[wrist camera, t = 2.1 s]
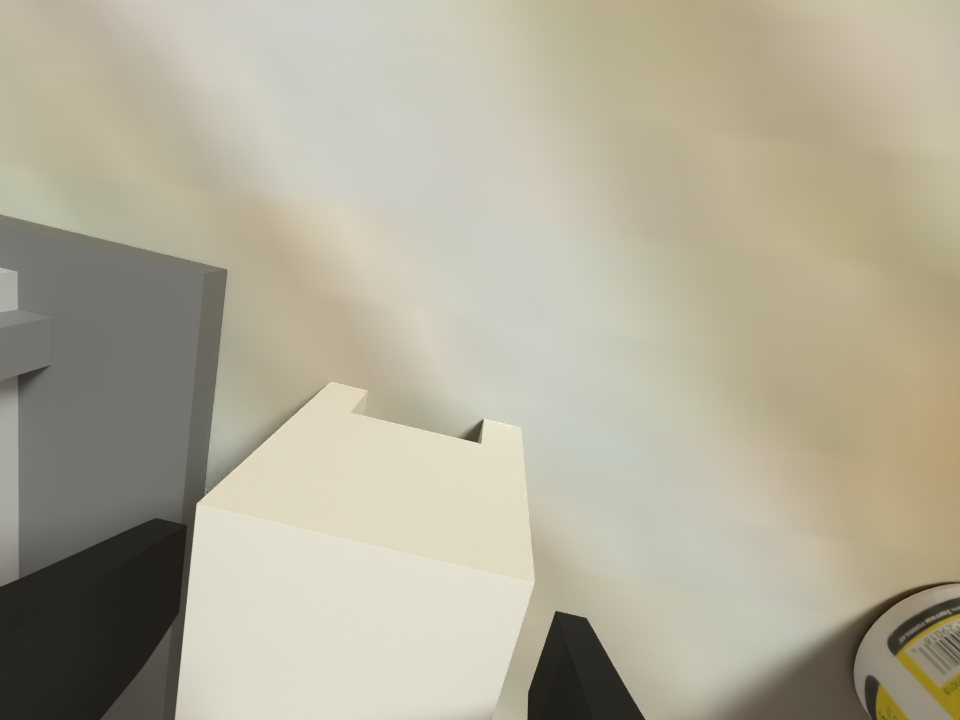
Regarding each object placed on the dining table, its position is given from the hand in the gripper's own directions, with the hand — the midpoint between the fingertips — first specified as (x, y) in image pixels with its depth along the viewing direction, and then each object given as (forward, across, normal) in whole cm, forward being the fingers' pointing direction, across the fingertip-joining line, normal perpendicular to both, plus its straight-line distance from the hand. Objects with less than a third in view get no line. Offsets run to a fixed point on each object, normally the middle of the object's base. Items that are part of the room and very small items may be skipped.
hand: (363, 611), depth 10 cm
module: (+4, 0, 0) cm, 4 cm away
